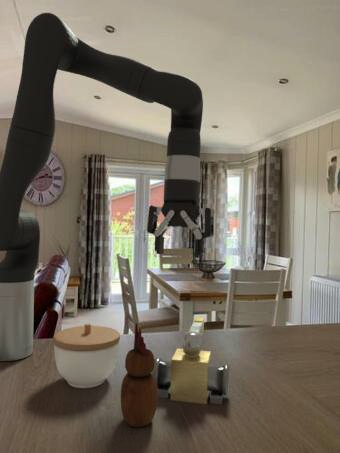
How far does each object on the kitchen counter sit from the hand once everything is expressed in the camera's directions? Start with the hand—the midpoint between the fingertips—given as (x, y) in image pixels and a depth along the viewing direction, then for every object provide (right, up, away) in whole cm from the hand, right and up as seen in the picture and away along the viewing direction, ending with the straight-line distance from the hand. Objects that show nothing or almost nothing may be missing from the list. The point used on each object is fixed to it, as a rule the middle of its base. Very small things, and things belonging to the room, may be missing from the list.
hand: (178, 255), depth 81 cm
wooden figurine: (-7, -25, -21) cm, 33 cm away
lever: (+3, -17, -6) cm, 18 cm away
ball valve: (+2, -25, -11) cm, 27 cm away
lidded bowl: (-18, -24, -6) cm, 31 cm away
